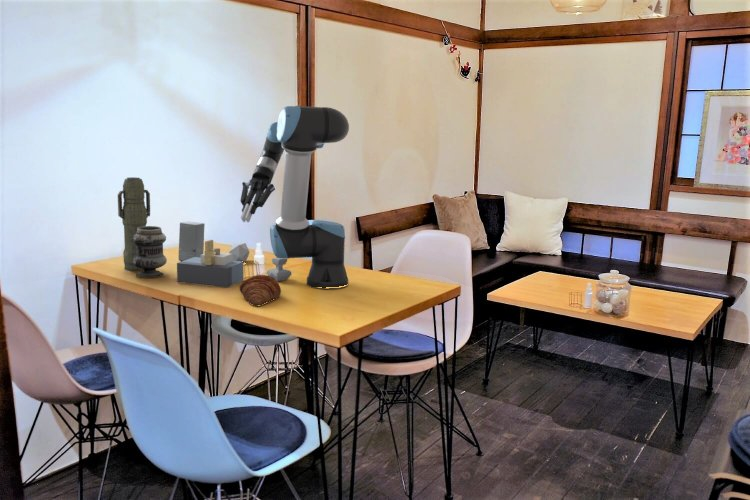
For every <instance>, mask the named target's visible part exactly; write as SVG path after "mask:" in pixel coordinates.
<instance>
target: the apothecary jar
mask: <svg viewBox="0 0 750 500" xmlns="http://www.w3.org/2000/svg"><path fill="white" fill-rule="evenodd" d="M132 240H133V242H134V243H136V255H135V256H134V258H133V264H134V265H135V266H137V267H139V268H142V269H144V270H140V271H139V272H138V273H136V274H135V276H136V277H137V278H140V279H141V278H142V279H155V278H156V279H157V278H160V277H163V276H164V275H165V273H163V271H160V270H158V269H159V268H162V267H163V266H165V265H166V264H167V261H168V259H167V257H166V256H165V254H164V243H165V242H166V240H167V235H165V234H164V233H163V230H162V227H160V226H156V225H146V226H142V227H138V228H137V232H136V234H134V235H133V238H132Z"/></svg>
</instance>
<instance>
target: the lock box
mask: <svg viewBox="0 0 750 500" xmlns="http://www.w3.org/2000/svg"><path fill="white" fill-rule="evenodd" d="M176 279H177V280H176V281H177V283H181V284H182V283H183V284H192V285H199V286H211V287H216V288H217V287H219V288H227V289H228V288H229V287H232V286H234V285H236V284H238V283H240V282H241V283H242V282H243V281H244V262H241V261H233V262H231V263H228V264H225V265H215V264H213V265H205V263H201V258H200V257H193V258H190V259H187V260H184V261H179V262H176Z"/></svg>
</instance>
